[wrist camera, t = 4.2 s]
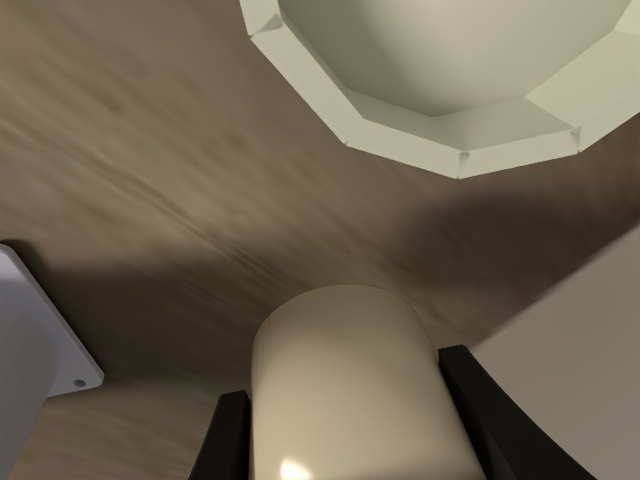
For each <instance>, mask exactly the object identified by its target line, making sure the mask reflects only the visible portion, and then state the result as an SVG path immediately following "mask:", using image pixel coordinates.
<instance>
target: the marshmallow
mask: <svg viewBox="0 0 640 480" xmlns="http://www.w3.org/2000/svg"><path fill="white" fill-rule="evenodd" d="M248 480H487V479H486V477H485V474H484V472H483V469H482V467H481V465H480V462H479V460H478V457H477V455H476V453H475V450H474V448H473V445H472V443H471V441H470V438H469V436H468V433H467V431H466V429H465V426H464V424H463V421H462V419H461V417H460V414H459V412H458V409H457V407H456V405H455V402H454V400H453V397H452V395H451V393H450V390H449V388H448V385H447V383H446V381H445V378H444V376H443V373H442V371H441V369H440V366H439V364H438V361H437V359H436V357H435V354H434V352H433V349H432V347H431V345H430V342H429V340H428V337H427V335H426V333H425V330H424V328H423V325H422V323H421V321H420V318H419V316H418V315H417V313H416V312H415V310H414V309H413V308H412V307H411V306H410V305H409V304H408V303H407V302H406V301H405V300H403V299H402V298H400V297H399V296H397V295H395V294H393V293H391V292H389V291H386V290H384V289H380V288H377V287H373V286H366V285H357V284H343V285H333V286H326V287H322V288H318V289H314V290H311V291H308V292H305V293H303V294H300V295H298V296H296V297H294V298H292V299H290V300H288V301H287V302H285V303H284V304H282V305H281V306H279V307H278V308H277V309H276V310H275V311H273V312H272V313H271V314H270V315H269V316H268V317H267V318H266V319H265V321H264V322H263V323H262V325H261V326H260V328H259V329H258V332H257V334H256V336H255V339H254V342H253V347H252V370H251V405H250V441H249V476H248Z"/></svg>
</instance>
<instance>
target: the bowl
mask: <svg viewBox="0 0 640 480" xmlns="http://www.w3.org/2000/svg"><path fill="white" fill-rule="evenodd" d="M240 4H241V8H242V12H243V16H244V20H245V24H246V28H247V31H248V35H251V38H250V39H251V40H252V41H253V42H254V44H255V45H256V46H257V47H258V48H259V49H260V50H261V51H262V53H263V54H264V55H265V56H266V57H267V58H268V59H269V60H270V62H271V63H272V64H273V65H274V66H275V67H276V68H277V69H278V71H279V72H280V73H281V74H282V75H283V76H284V77H285V78H286V80H287V81H288V82H289V83H290V84H291V85H292V86H293V87H294V89H295V90H296V91H297V92H298V93H299V94H300V95H301V96H302V98H303V99H304V100H305V101H306V102H307V103H308V104H309V105H310V107H311V108H312V109H313V110H314V111H315V112H316V113H317V114H318V116H319V117H320V118H321V119H322V120H323V121H324V122H325V123H326V125H327V126H328V127H329V128H330V129H331V130H332V131H333V132H334V134H335V135H336V136H337V137H338V138H339V139H340V140H341V141H342V143H343V144H344V143H345V144H346V146H349V147H353V148H356V149H359V150H363V151H366V152H369V153H372V154H376V155H379V156H382V157H386V158H389V159H392V160H396V161H399V162H402V163H405V164H409V165H412V166H415V167H419V168H422V169H425V170H429V171H432V172H435V173H438V174H442V175H445V176H448V177H452V178H455V179H457V177H458V178H459V179H461V178H466V177H471V176H475V175H480V174H485V173H489V172H494V171H499V170H504V169H508V168H513V167H518V166H522V165H527V164H532V163H536V162H541V161H546V160H550V159H555V158H560V157H564V156H569V155H574V154H577V152H578V151H579V152H581V151H583V150H584V149H586V148H587V147H589V146H590V145H592V144H593V143H595V142H596V141H598V140H599V139H600V138H602V137H603V136H605V135H606V134H608V133H609V132H611V131H612V130H614V129H615V128H616V127H618V126H619V125H621V124H622V123H624V122H625V121H627V120H628V119H630V118H631V117H632V116H634V115H635V114H637V113H638V112H640V0H240Z"/></svg>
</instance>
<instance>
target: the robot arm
mask: <svg viewBox="0 0 640 480" xmlns="http://www.w3.org/2000/svg"><path fill="white" fill-rule="evenodd" d="M438 354H439V366H440V369H441V371H442V373H443V376H444V378H445V381H446V383H447V385H448V388H449V390H450V393H451V395H452V397H453V400H454V402H455V405H456V407H457V409H458V412H459V414H460V417H461V419H462V421H463V424H464V426H465V429H466V431H467V433H468V436H469V438H470V441H471V443H472V445H473V448H474V450H475V453H476V455H477V457H478V460H479V462H480V465H481V467H482V469H483V472H484V474H485V477H486V479H487V480H597V479H596V478H595V477H594V476H592V475H591V474H590V473H589V472H588V471H587V470H585V469H584V468H583V467H582V466H581V465H580V464H578V463H577V462H576V461H575V460H574V459H573V458H572V457H571V456H569V455H568V454H567V453H566V452H565V451H564V450H563V449H562V448H561V447H560V446H559V445H557V444H556V443H555V442H554V441H553V440H552V439H551V438H550V437H549V436H548V435H547V434H546V433H545V432H543V431H542V429H540V428H539V427H538V426H537V425H536V424H535V423H534V422H533V421H532V420H531V419H530V418H529V417H528V416H527V415H526V414H525V413H524V412H523V411H522V410H521V408H519V407H518V405H517V404H515V402H514V401H513V400H512V399H511V398H510V397H509V396H508V395H507V394H506V393H505V392H504V391H503V390H502V389H501V387H500V386H498V384H497V383H496V382H495V381H494V380H493V379H492V377H491V376H490V375H489V374H488V373H487V372H486V371H485V369H484V368H483V367H482V366H481V365H480V364H479V362H478V361H477V360H476V359H475V358H474V356H473V355H472V354H471V353H470V351H469V350H468V349H467V347H466V346H464V345H462V344H461V345H456V346H451V347H447V348H442V349H438ZM104 376H105V375H104V373H103V371H102V370H101V369H100V367H99V366H98V365H97V363H96V362H95V361H94V359H93V358H92V356H91V355H90V354H89V352H88V351H87V350H86V348H85V347H84V346H83V344H82V343H81V341H80V340H79V339H78V337H77V336H76V335H75V333H74V332H73V331H72V329H71V328H70V326H69V325H68V324H67V322H66V321H65V320H64V318H63V317H62V315H61V314H60V313H59V311H58V310H57V309H56V307H55V306H54V305H53V303H52V302H51V300H50V299H49V298H48V296H47V295H46V294H45V292H44V291H43V290H42V288H41V287H40V285H39V284H38V283H37V281H36V280H35V279H34V277H33V276H32V275H31V273H30V272H29V270H28V269H27V268H26V266H25V265H24V264H23V262H22V261H21V259H20V258H19V257H18V255H17V254H16V253H15V251H14V250H13V249H11V248H10V247H8V246H6V245H4V244H0V480H7V478H8V476H9V474H10V472H11V470H12V468H13V466H14V464H15V462H16V460H17V458H18V456H19V454H20V451H21V449H22V447H23V445H24V443H25V441H26V439H27V437H28V435H29V433H30V431H31V429H32V427H33V424H34V422H35V420H36V418H37V416H38V414H39V412H40V410H41V408H42V406H43V404H44V402H45V400H46V398H47V397H51V396H56V395H61V394H65V393H70V392H75V391H80V390H85V389H90V388H94V387H98V386H100V385H101V384H102V382H103V379H104ZM250 405H251V402H250V400H249V398H248V396H247V393H246V391H245V390H241V391H237V392H232V393H227V394H222V395H221V396H220V398H219V400H218V403H217V406H216V409H215V412H214V415H213V418H212V420H211V423H210V426H209V429H208V431H207V434H206V437H205V439H204V442H203V445H202V447H201V450H200V452H199V455H198V457H197V460H196V462H195V464H194V467H193V469H192V472H191V474H190V476H189V479H188V480H248V476H249V441H250Z"/></svg>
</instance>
